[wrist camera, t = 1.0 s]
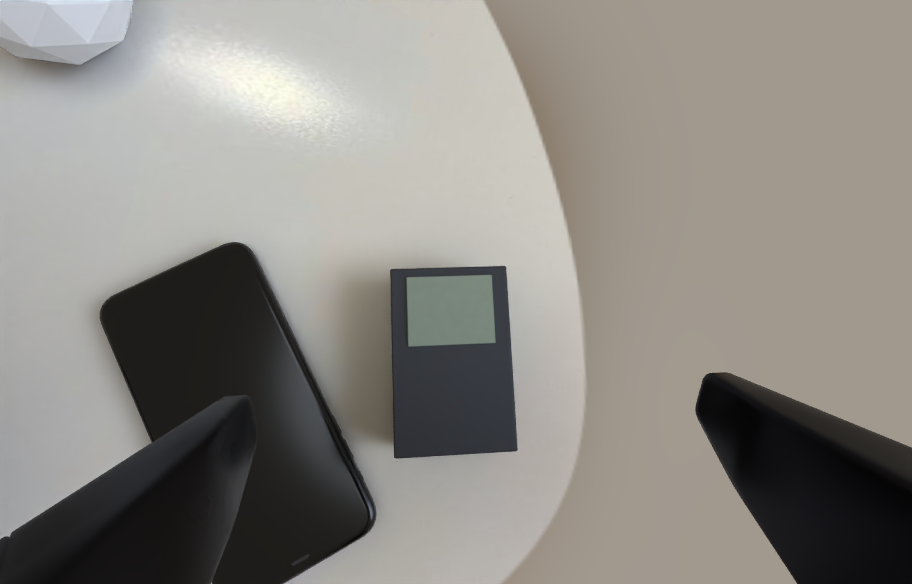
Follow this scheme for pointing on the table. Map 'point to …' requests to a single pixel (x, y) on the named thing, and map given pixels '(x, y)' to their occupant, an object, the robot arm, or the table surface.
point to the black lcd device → (451, 362)
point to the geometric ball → (63, 28)
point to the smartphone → (273, 400)
